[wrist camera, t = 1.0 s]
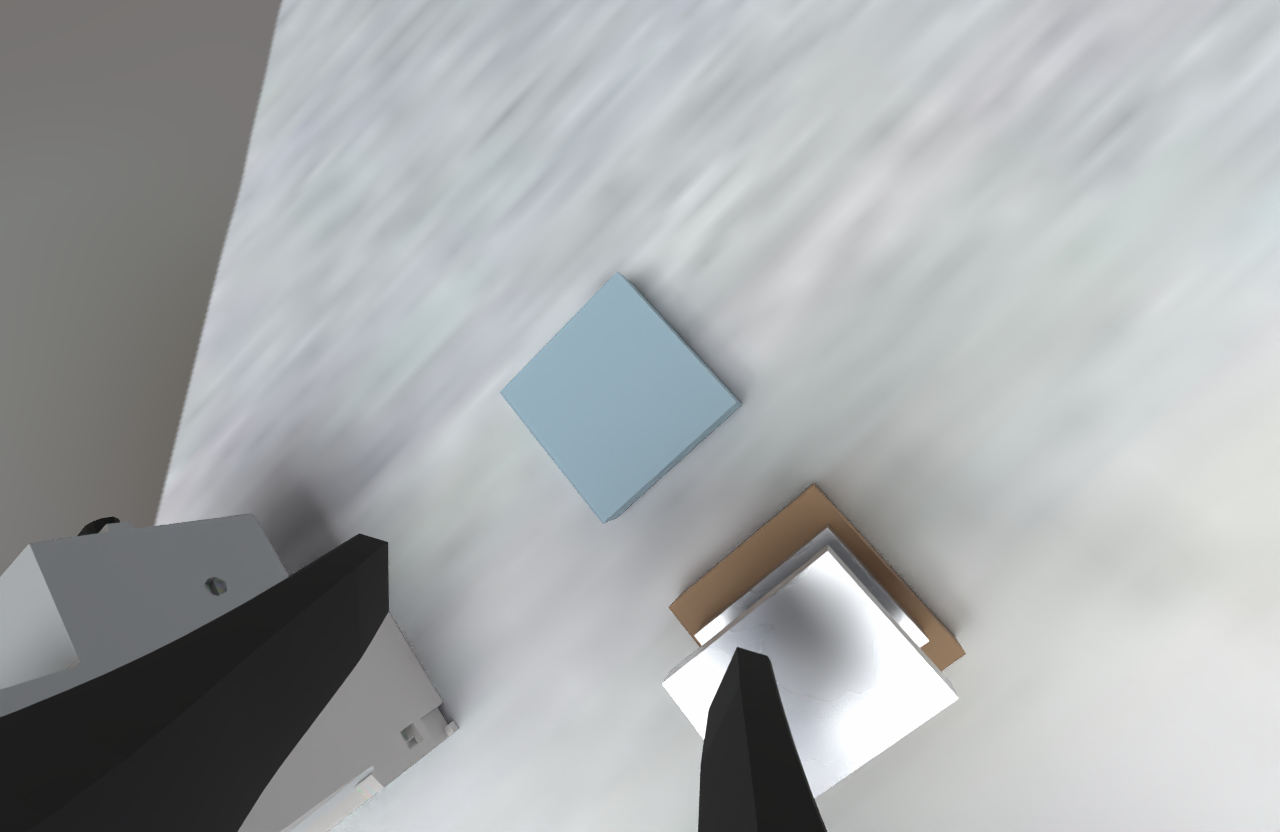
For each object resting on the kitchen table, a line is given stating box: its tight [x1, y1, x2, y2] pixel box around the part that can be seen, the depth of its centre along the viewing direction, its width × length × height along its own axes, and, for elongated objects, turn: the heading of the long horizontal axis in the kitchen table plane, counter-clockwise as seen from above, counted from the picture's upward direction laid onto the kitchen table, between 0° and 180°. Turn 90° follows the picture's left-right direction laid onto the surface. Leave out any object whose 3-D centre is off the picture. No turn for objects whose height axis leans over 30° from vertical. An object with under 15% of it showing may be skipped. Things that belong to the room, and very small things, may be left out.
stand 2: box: [669, 484, 966, 671], centre depth 21 cm, size 7×7×2 cm
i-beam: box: [662, 523, 959, 799], centre depth 18 cm, size 4×6×5 cm
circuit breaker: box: [0, 514, 459, 832], centre depth 21 cm, size 8×14×15 cm, turn 40°
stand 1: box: [500, 272, 742, 523], centre depth 23 cm, size 7×7×2 cm
